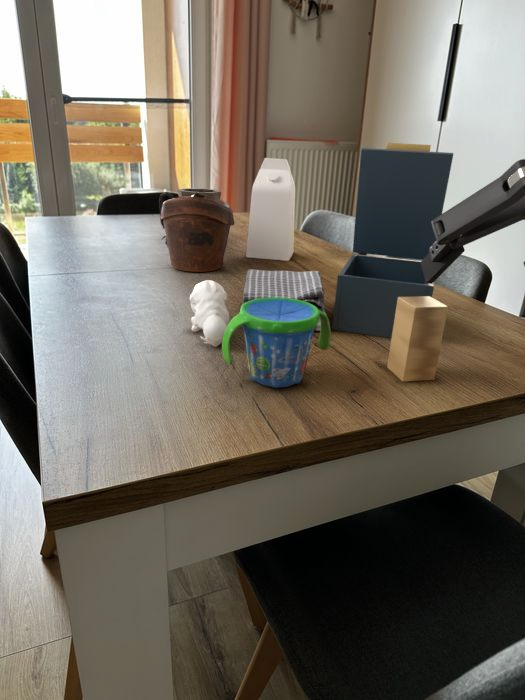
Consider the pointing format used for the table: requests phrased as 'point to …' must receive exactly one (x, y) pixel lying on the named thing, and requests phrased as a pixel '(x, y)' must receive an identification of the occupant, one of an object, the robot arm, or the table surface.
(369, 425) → the table surface
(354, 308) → the chest
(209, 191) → the mug
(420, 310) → the beech block
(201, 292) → the white animal figurine
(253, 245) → the milk
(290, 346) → the snack cup
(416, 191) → the chest lid
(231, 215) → the brown pot
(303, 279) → the towel
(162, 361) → the table surface
